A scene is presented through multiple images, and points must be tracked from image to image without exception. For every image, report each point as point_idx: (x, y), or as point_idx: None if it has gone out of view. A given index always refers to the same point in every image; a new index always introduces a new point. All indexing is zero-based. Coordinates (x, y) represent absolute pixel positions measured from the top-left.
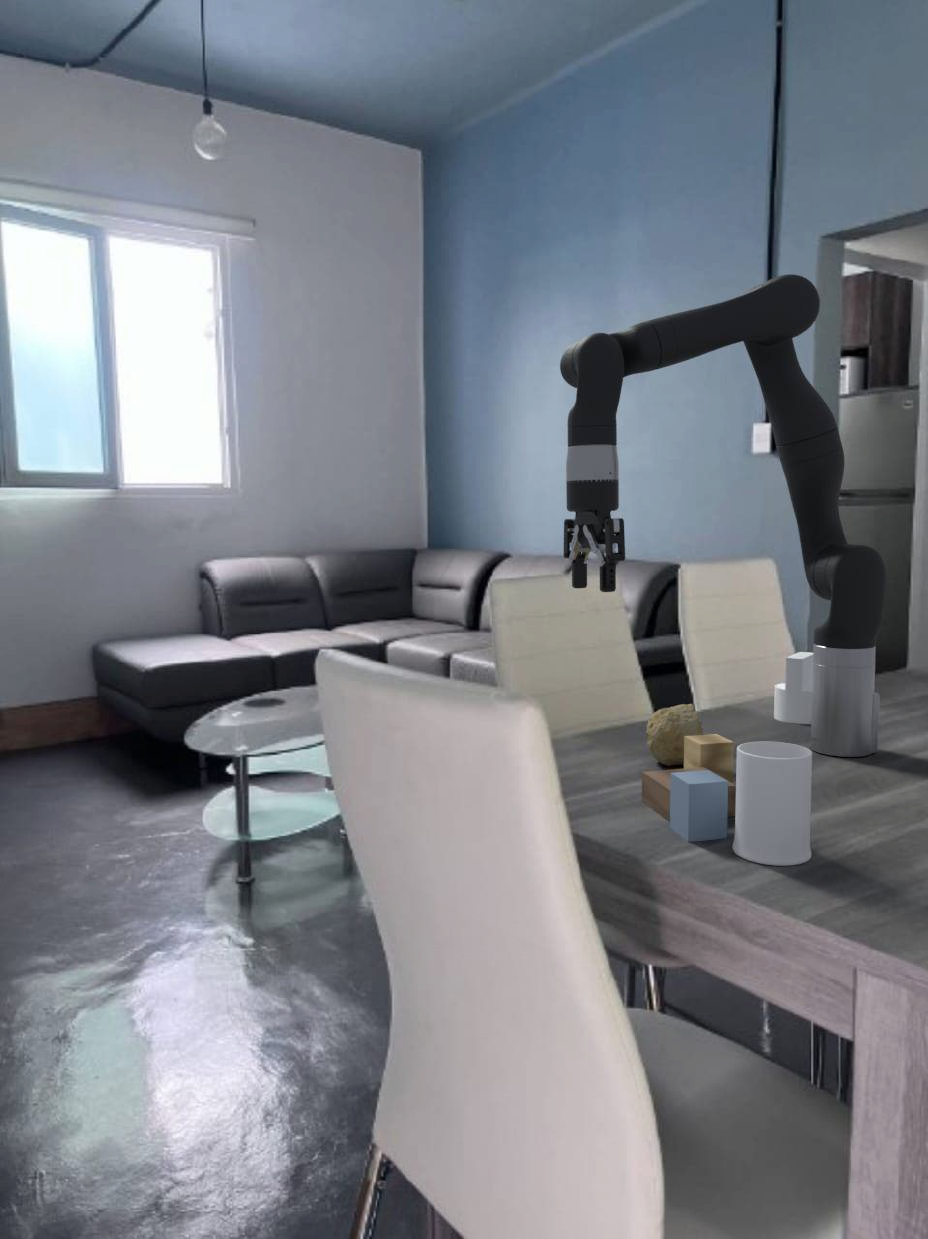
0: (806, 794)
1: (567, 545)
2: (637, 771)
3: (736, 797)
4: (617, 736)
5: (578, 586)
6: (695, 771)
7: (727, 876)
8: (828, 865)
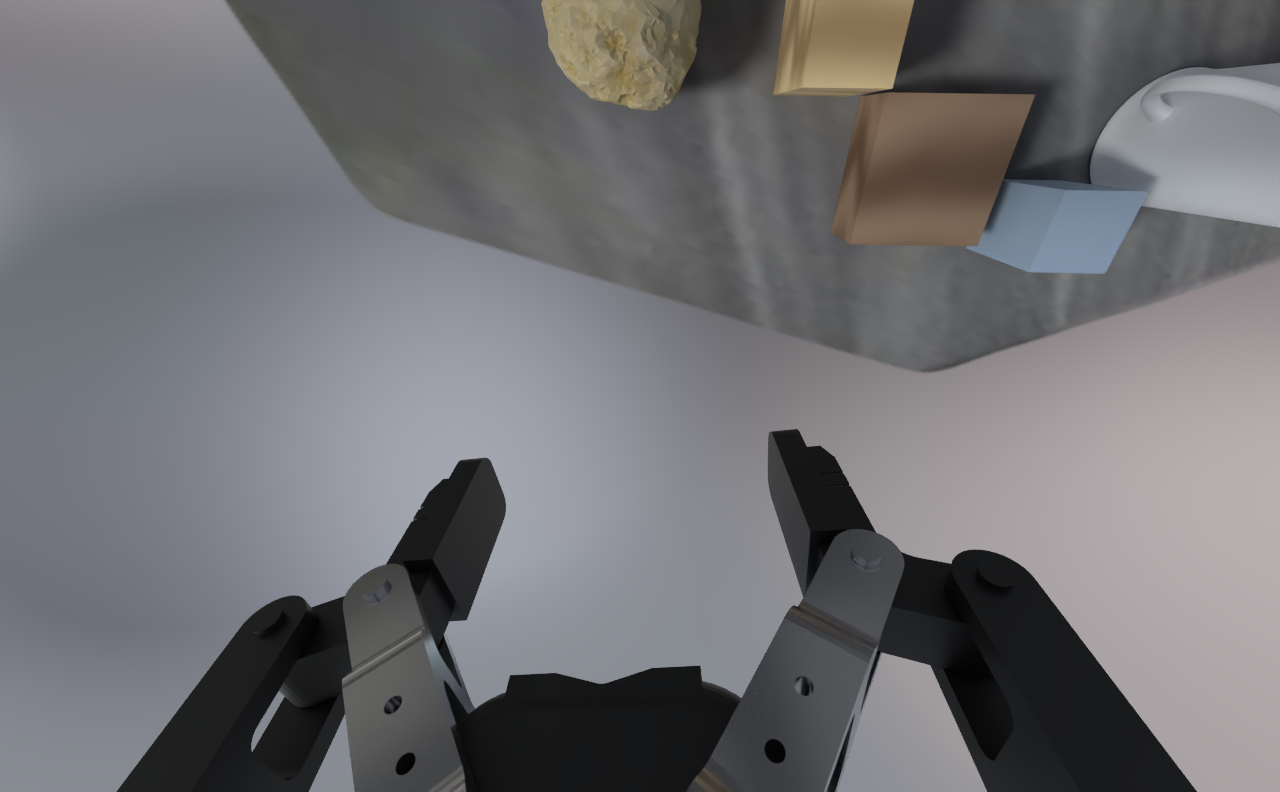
0: None
1: (321, 763)
2: (660, 156)
3: (1198, 213)
4: (346, 61)
5: (498, 495)
6: (1055, 221)
7: (1160, 260)
8: None
